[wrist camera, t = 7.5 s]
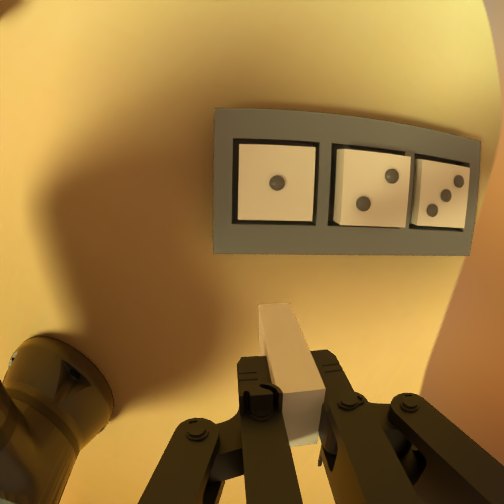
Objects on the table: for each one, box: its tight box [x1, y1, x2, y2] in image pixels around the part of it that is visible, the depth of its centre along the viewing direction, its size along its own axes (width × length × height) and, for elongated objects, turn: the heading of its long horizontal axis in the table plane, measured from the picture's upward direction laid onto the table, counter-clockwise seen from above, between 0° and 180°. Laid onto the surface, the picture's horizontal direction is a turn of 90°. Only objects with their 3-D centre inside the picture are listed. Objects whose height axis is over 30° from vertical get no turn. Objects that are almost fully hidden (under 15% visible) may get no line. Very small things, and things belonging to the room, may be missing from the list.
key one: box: [238, 144, 316, 221], centre depth 26 cm, size 6×6×2 cm
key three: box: [410, 159, 470, 228], centre depth 27 cm, size 6×6×2 cm
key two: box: [333, 149, 411, 228], centre depth 25 cm, size 6×6×2 cm
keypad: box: [213, 108, 481, 256], centre depth 28 cm, size 26×12×3 cm, turn 89°
